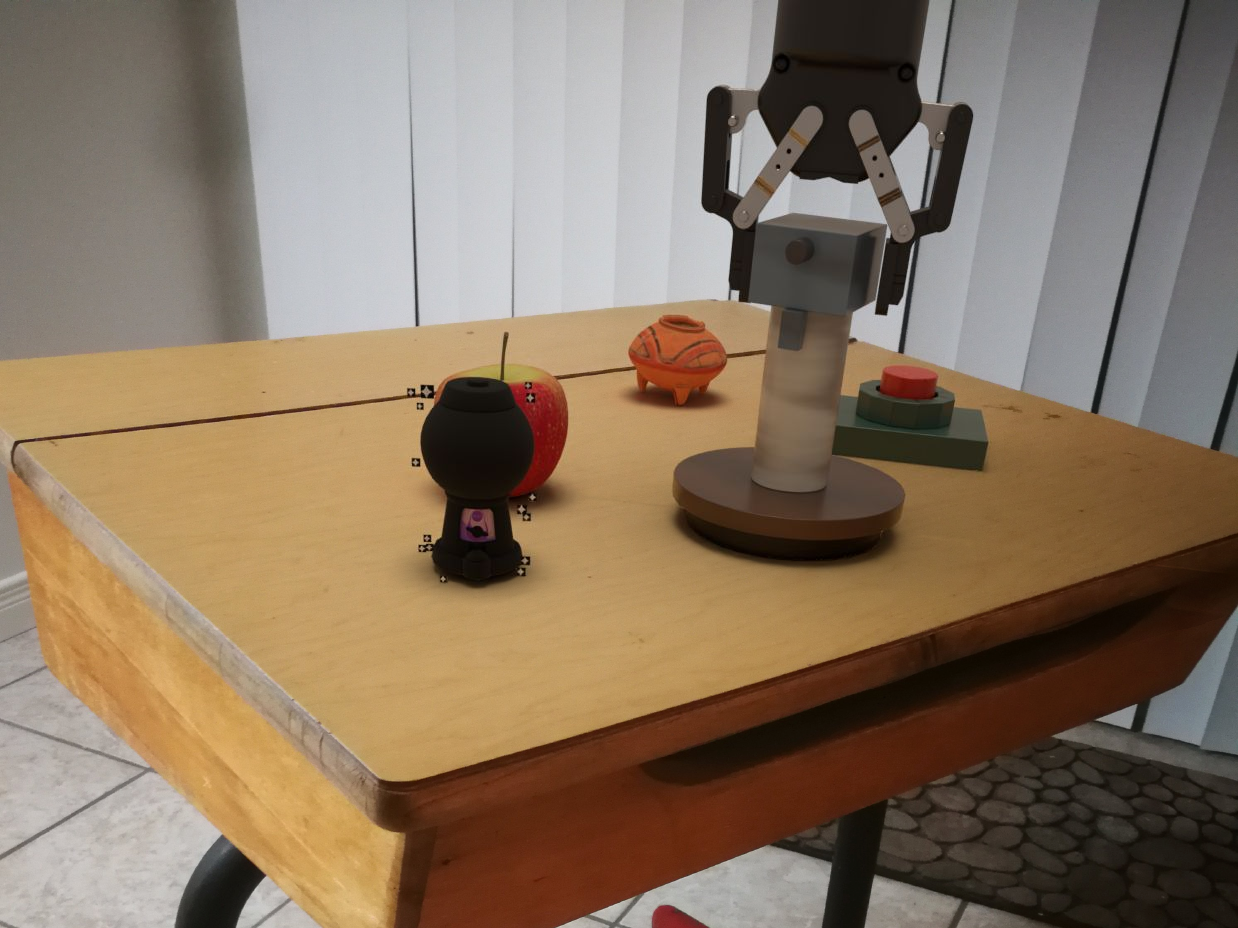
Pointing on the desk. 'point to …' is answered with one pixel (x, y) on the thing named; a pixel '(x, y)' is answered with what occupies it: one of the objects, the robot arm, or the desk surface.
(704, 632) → the desk surface
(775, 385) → the grey-topped column stand
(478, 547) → the gumball machine
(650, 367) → the pot
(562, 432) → the apple
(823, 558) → the base
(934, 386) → the button
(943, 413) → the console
